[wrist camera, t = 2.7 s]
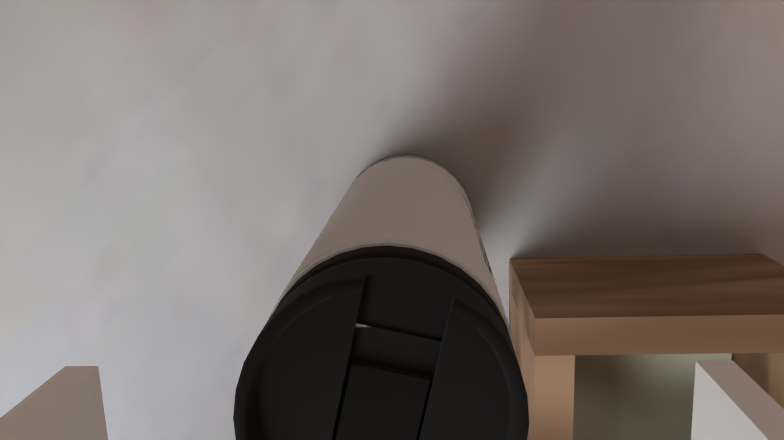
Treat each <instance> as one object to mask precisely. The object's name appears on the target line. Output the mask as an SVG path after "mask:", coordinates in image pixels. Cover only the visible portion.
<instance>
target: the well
mask: <svg viewBox="0 0 784 440" xmlns="http://www.w3.org/2000/svg"><path fill="white" fill-rule="evenodd" d="M509 327H510V331H511V335H512V338H513V342H514V346H515V354H516V357H517V361H518V364H519V367H520V370H521V374H522V378H523V381H524V385H525V388H526V392H527V396H528V412H529V429H528V436H527V440H691V430H692V414H693V398H694V382H695V366H696V361H734V362H735V363H736V364H737V365H738V366H739V367H740V368H741V369H742V370H743V371H744V372H745V373H746V374H747V375H749V376H750V377H751V378H752V379H753V380H754V381H755V382H756V383H757V384H758V385H759V386H760V387H761V388H762V389H763V390H764V391H765V392H766V393H767V394H769V395H770V396H771V397H772V398H773V399H774V400H775V401H776V402H777V403H778V404H779V405H780V406H781V407H782V408H783V409H784V266H783V265H781V264H779V263H777V262H775V261H774V260H772V259H770V258H768V257H766V256H765V255H763V254H744V255H695V256H646V257H598V258H549V259H509Z"/></svg>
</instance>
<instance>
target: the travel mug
mask: <svg viewBox="0 0 784 440" xmlns="http://www.w3.org/2000/svg"><path fill="white" fill-rule="evenodd" d="M233 419H234V428H235V436H236V440H527V436H528V429H529V412H528V396H527V392H526V388H525V385H524V381H523V378H522V374H521V370H520V367H519V364H518V361H517V357H516V354H515V346H514V342H513V338H512V335H511V331H510V327H509V324H508V321H507V318H506V315H505V311H504V308H503V305H502V302H501V299H500V296H499V293H498V289H497V286H496V283H495V280H494V277H493V274H492V271H491V268H490V265H489V262H488V258H487V255H486V252H485V249H484V246H483V243H482V240H481V237H480V234H479V230H478V227H477V224H476V221H475V218H474V215H473V212H472V209H471V206H470V203H469V199H468V196H467V194H466V192H465V190H464V188H463V186H462V185H461V183H460V182H459V181H458V179H457V178H456V177H455V176H454V175H453V174H452V173H451V172H450V171H449V170H448V169H446V168H445V167H444V166H442V165H440V164H439V163H437V162H435V161H433V160H430V159H427V158H424V157H421V156H413V155H400V156H392V157H389V158H385V159H382V160H380V161H378V162H376V163H374V164H372V165H370V166H369V167H368V168H367V169H365V170H364V171H363V172H362V173H361V174H360V175H359V176H358V177H357V178H356V180H355V181H354V182H353V183H352V185H351V186H350V188H349V189H348V191H347V193H346V194H345V196H344V197H343V199H342V200H341V202H340V204H339V205H338V207H337V208H336V210H335V211H334V213H333V215H332V216H331V218H330V219H329V221H328V222H327V224H326V226H325V227H324V229H323V230H322V232H321V233H320V235H319V237H318V238H317V240H316V241H315V243H314V244H313V246H312V248H311V249H310V251H309V252H308V254H307V255H306V257H305V259H304V260H303V262H302V263H301V265H300V266H299V268H298V270H297V271H296V273H295V274H294V276H293V277H292V279H291V281H290V282H289V284H288V285H287V287H286V289H285V290H284V292H283V293H282V295H281V296H280V298H279V300H278V302H277V304H276V306H275V308H274V309H273V311H272V313H271V315H270V317H269V320H268V322H267V323H266V325H265V326H264V328H263V330H262V331H261V333H260V334H259V336H258V338H257V339H256V341H255V343H254V345H253V347H252V349H251V350H250V352H249V354H248V356H247V358H246V360H245V362H244V364H243V367H242V371H241V374H240V377H239V381H238V384H237V387H236V393H235V405H234V416H233Z"/></svg>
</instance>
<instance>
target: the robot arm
mask: <svg viewBox="0 0 784 440" xmlns="http://www.w3.org/2000/svg"><path fill="white" fill-rule="evenodd" d="M0 440H108V437H107V429H106V422H105V414H104V407H103V399H102V392H101V385H100V377H99V370H98V366H65V367H64V368H63V369H61V370H60V371H59V372H58V373H56V374H55V375H54V376H53V377H51V378H50V379H49V380H48V381H46V382H45V383H44V384H43V385H41V386H40V387H39V388H38V389H36V390H35V391H34V392H33V393H31V394H30V395H29V396H28V397H26V398H25V399H24V400H23V401H21V402H20V403H19V404H18V405H16V406H15V407H14V408H12V409H11V410H10V411H9V412H7V413H6V414H5V415H4V416H2V417H1V418H0ZM691 440H784V409H783V408H782V407H781V406H780V405H779V404H778V403H777V402H776V401H775V400H774V399H773V398H772V397H771V396H770V395H769V394H767V393H766V392H765V391H764V390H763V389H762V388H761V387H760V386H759V385H758V384H757V383H756V382H755V381H754V380H753V379H752V378H751V377H750V376H749V375H747V374H746V373H745V372H744V371H743V370H742V369H741V368H740V367H739V366H738V365H737V364H736V363H735V362H734V361H696V366H695V382H694V398H693V414H692V430H691Z"/></svg>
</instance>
